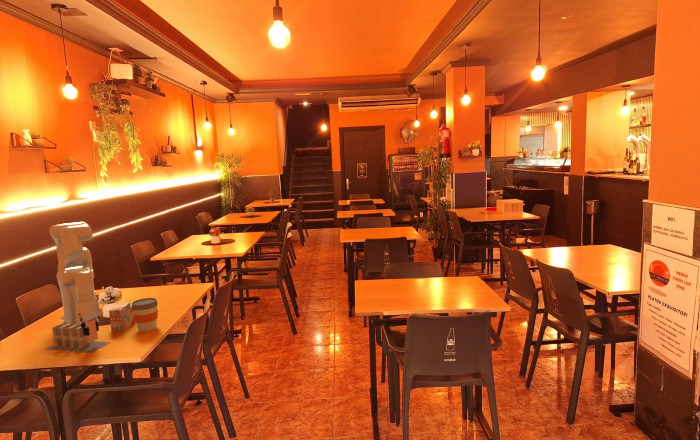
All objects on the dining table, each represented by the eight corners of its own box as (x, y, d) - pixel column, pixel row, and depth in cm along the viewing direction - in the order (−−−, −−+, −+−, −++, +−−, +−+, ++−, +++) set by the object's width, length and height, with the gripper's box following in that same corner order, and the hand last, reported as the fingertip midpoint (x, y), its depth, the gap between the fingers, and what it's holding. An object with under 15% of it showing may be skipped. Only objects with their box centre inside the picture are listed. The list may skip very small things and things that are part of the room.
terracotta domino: (87, 342, 221) (84, 322, 219) (95, 338, 225) (92, 318, 224) (89, 342, 220) (86, 322, 219) (97, 338, 225) (95, 318, 224)
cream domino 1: (54, 346, 227) (51, 326, 225) (63, 342, 231) (60, 323, 230) (57, 346, 226) (54, 327, 225) (66, 342, 231) (63, 323, 230)
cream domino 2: (62, 346, 225) (60, 327, 224) (71, 342, 230) (68, 323, 229) (65, 347, 225) (62, 327, 223) (74, 343, 230) (71, 323, 228)
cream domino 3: (71, 347, 224) (68, 327, 222) (79, 343, 229) (76, 324, 227) (73, 347, 223) (70, 328, 222) (82, 343, 228) (79, 324, 227)
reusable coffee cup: (150, 323, 254) (147, 296, 252) (165, 326, 248) (162, 299, 246) (129, 331, 243) (126, 303, 241) (144, 334, 237) (141, 306, 235)
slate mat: (45, 349, 224) (44, 349, 224) (66, 340, 235) (66, 339, 235) (91, 353, 216) (91, 352, 216) (111, 343, 228) (111, 342, 228)
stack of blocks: (128, 318, 264) (125, 297, 262) (139, 317, 264) (136, 297, 262) (111, 332, 243) (108, 310, 241) (123, 331, 243) (120, 309, 241)
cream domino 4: (79, 348, 223) (76, 328, 221) (87, 344, 227) (85, 324, 226) (82, 348, 222) (79, 328, 221) (90, 344, 227) (87, 324, 225)
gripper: (94, 291, 229) (98, 326, 231) (64, 301, 213) (70, 339, 215) (106, 291, 227) (111, 326, 229) (77, 302, 211) (83, 340, 213)
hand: (91, 332), depth 222 cm, fingers closed on terracotta domino, 4 cm apart
